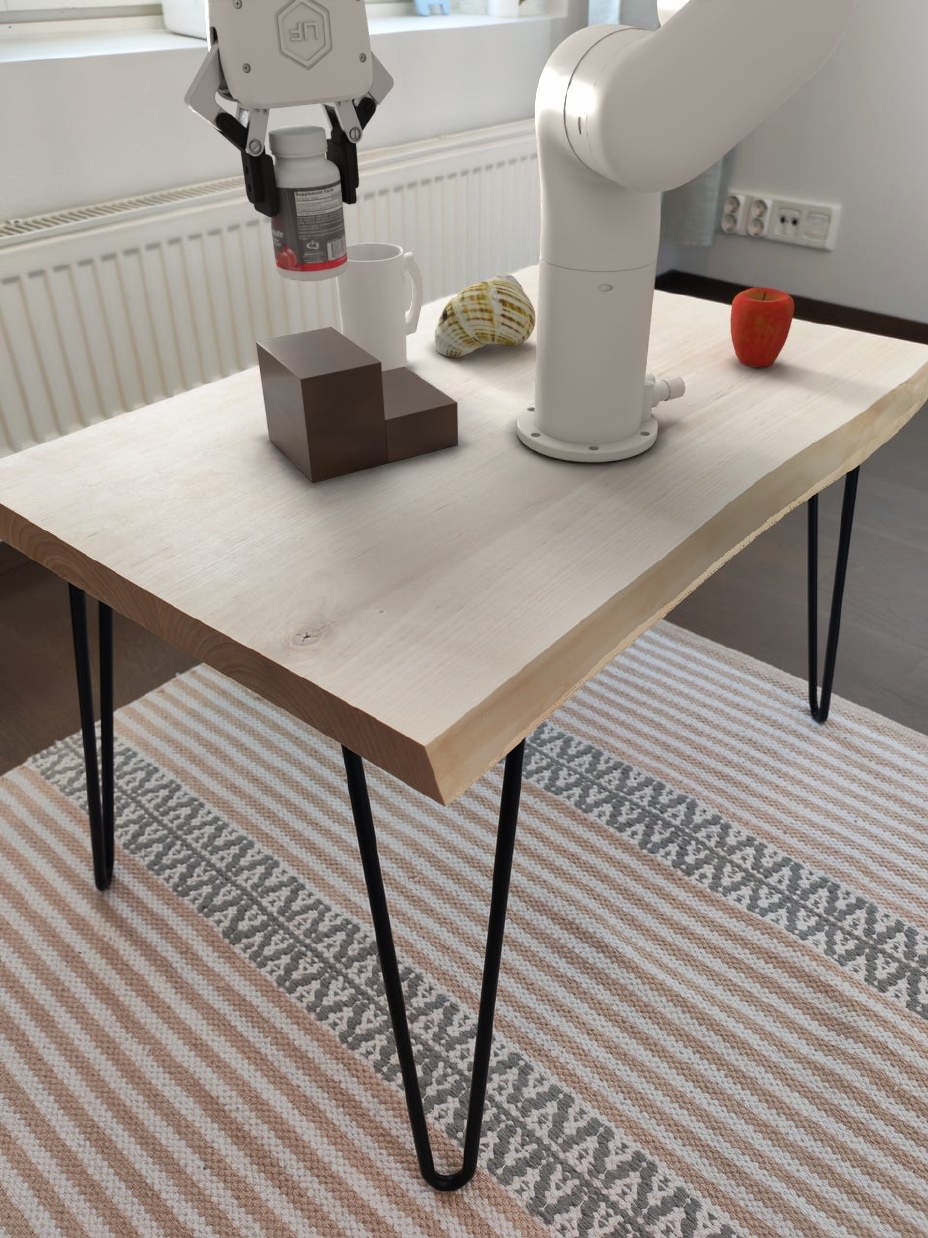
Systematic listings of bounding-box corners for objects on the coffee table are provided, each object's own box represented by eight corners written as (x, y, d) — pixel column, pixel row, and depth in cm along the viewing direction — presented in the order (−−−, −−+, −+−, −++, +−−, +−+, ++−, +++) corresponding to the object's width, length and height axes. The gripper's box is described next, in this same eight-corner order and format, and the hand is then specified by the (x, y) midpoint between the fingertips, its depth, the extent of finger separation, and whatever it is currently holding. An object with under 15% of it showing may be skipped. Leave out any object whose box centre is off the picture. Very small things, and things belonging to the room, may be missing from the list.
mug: (372, 389, 97) (363, 265, 90) (330, 371, 101) (319, 251, 94) (445, 362, 103) (442, 244, 96) (403, 346, 107) (398, 232, 100)
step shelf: (406, 406, 94) (402, 312, 89) (458, 444, 87) (457, 345, 82) (269, 438, 88) (255, 341, 83) (312, 482, 81) (300, 379, 76)
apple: (716, 352, 104) (726, 281, 100) (773, 351, 105) (786, 280, 100) (732, 374, 99) (743, 300, 95) (792, 373, 99) (806, 299, 95)
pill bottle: (266, 269, 75) (247, 128, 69) (331, 258, 77) (317, 120, 71) (293, 287, 71) (274, 139, 65) (360, 275, 73) (348, 130, 67)
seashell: (416, 351, 104) (431, 253, 102) (456, 365, 112) (470, 275, 111) (502, 361, 100) (519, 259, 98) (537, 375, 108) (553, 281, 107)
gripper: (155, -103, 54) (211, 236, 65) (422, -107, 62) (433, 199, 72) (117, -100, 60) (174, 214, 70) (367, -103, 67) (385, 182, 77)
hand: (305, 203), depth 71 cm, fingers closed on pill bottle, 5 cm apart
